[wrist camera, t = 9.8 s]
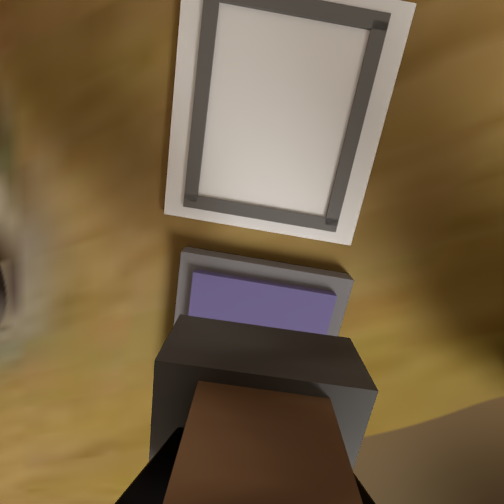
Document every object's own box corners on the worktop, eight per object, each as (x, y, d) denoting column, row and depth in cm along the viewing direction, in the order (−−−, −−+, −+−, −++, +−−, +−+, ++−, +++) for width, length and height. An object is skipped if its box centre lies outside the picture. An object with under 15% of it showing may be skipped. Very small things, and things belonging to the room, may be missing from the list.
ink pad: (348, 273, 19) (357, 283, 18) (311, 404, 22) (316, 424, 21) (185, 246, 19) (178, 254, 17) (171, 382, 22) (164, 400, 20)
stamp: (350, 338, 10) (578, 763, 3) (322, 436, 11) (434, 907, 4) (179, 314, 10) (-27, 691, 3) (171, 416, 11) (14, 861, 4)
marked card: (412, 7, 15) (418, 1, 14) (348, 243, 19) (351, 246, 18) (186, -35, 15) (183, -43, 14) (165, 212, 18) (162, 214, 18)
